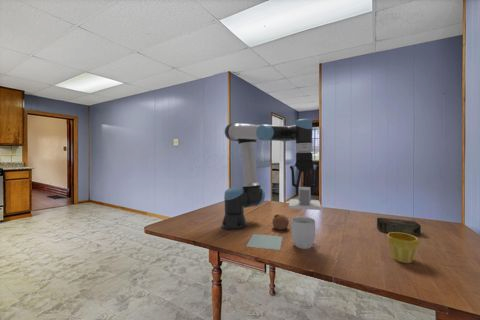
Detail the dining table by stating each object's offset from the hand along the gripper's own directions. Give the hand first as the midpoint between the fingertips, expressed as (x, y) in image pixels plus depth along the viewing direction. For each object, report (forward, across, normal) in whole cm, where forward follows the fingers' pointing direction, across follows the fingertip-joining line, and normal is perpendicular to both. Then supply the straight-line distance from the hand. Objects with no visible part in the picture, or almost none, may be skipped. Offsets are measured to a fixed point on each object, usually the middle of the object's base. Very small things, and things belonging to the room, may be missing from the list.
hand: (304, 201), depth 105 cm
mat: (+22, -19, 0) cm, 29 cm away
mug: (+22, 0, 0) cm, 22 cm away
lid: (+2, 0, 0) cm, 2 cm away
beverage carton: (+22, +50, +32) cm, 64 cm away
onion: (+22, -13, +20) cm, 33 cm away
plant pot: (+22, +39, -4) cm, 45 cm away
